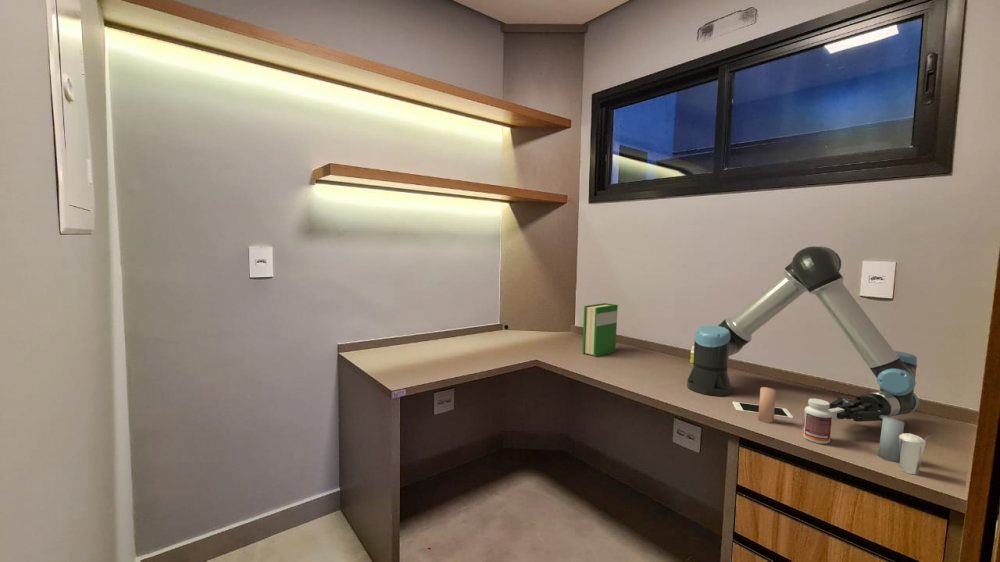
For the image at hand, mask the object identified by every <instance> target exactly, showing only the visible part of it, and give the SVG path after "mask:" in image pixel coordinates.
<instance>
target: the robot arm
mask: <svg viewBox="0 0 1000 562" xmlns="http://www.w3.org/2000/svg"><path fill="white" fill-rule="evenodd" d="M841 268H842V259H841V257H840V255H839V254H838V253H837V252H836V251H835V250H833V249H832V248H830V247H827V246H813V245H812V246H808V247H805V248H802V249H800V250H799V251H797V252H796V253H795V255H794V256H793V258H792V260H791V262H790V263H789V264H788V265H787V266H786V267H785V268H783V269H784V270H783V271H784V273H783V275H782V276H781V277H780V278H778V279H777V280H776V281H775V282H774V283H773V284H771V285H770V286H769V287H768V288H767V289H765V290H764V291H763V292H762V293H761V294H759V295H758V296H757V297H756V298H755V299H753V300H752V301H751V302H750V303H749V304H748V305H747V306H746V307H744V308H743V309H742V310H741V311H740V312H738V313H737V314H736V315H735V316H733V317H726V318H725V319H724V320H722V322H720V323H719V324H718V325H702V326H699V327H697V329H695V332H694V333H695V334H694V336H693V337H694V343H693V344H694V345H693V346H694V359H693V366H692V368H691V370H690V372H689V375H688V376H687V380H686V388H688V389H689V390H691V391H693V392H696V393H699V394H703V395H707V396H715V397H724V396H730V395H731V394H732V392H733V391H732V388H733V386H732V383H731V379H730V376H729V372H728V367H729V357H730V356H733V355H735V354H737V353H739V352H740V351H741V350H742V348H743V347H745V345H747V344H749V343H750V342H751V341H752V339H753V337H752V335H753V334H754V333H755V332H756V331H757V330H759V329H760V328H761V327H762V326H765V324H767V323H768V322H769V321H770V320H772V319H773V318H774V317H775V316H776V315H778V314H779V313H780V312H782V311H783V310H784V309H785V308H786V307H787V308H788V306H789V305H791V304H792V303H793V302H794V301H796V299H798V298H799V297H801V296H802V295H803V294H804V293H807V292H809V294H812V295H815V296H816V297H817V299H818V300H819V301H820V302H821V304H822V306H823V307H824V308H825V310H826V311H827V312H828V313H829V315H830V317H831V318H832V319H833V320H834V321H835V323H836V324H837V326H838V327H839V328H840V330H841V331H842V332H843V334H844V335H845V336H846V338H847V339H848V341H849V342H850V343H851V345H852V346H853V347H854V348H855V350H856V351H857V353H858V354H859V356H860V357H861V358H862V360H863V361H864V362H865V363H866V365H867V366H868V368H869V369H870V370H871V372H872V374H873V375H874V376H875V378H876V381H877V384H878V386H879V391H873V392H869V393H864V394H863V393H862V394H860V395H858V396H857V397H856V398H855V399H849V400H846V399H844V398H843V397H842V396H841V397H840V396H839V397H838V396H837V399H835V400H834V401H832V402H829V404H830V408H829V409H828V410H829V411H830V412H831V413H832V422H833V421H837V420H845V419H846V420H853V422H856V423H857V422H858V423H860V422H861V423H862V422H877V421H878V422H883V418H884V417H888V418H892V417H896V416H901V415H907V414H910V413H912V412H914V411H916V410H917V409H918V408H919V406H920V400H919V398H918V396H917V394H915V393H914V392H915V387H916V384H917V383H916V374H917V368H918V357H917V356H916V355H915V354H912V353H909V352H904V351H903V352H902V351H897V350H896V351H895V350H894V348H892V346H891V345H890V344H889V342H888V340H887V339H886V338H885V337H884V335H883V334H882V333H881V332H880V330H879V329H878V327H877V326H876V325H875V323H874V322H873V321H872V319H870V317H869V316H868V315H867V312H865V310H864V309H863V308H862V307H861V305H860V304H859V303H858V301H856V299H855V297H853V295H852V294H851V293H850V291H849V290H848V289H847V286H845V285H844V283H843V282H844V279H845V278H844V277H843V275H842V274H841V273H840V270H841Z"/></svg>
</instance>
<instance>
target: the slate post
mask: <svg viewBox="0 0 1000 562" xmlns="http://www.w3.org/2000/svg"><path fill="white" fill-rule="evenodd" d="M881 422H882V424H881V432H880V439H879V446H878V457H879V458H881V459H883V460H886V461H888V462H893V463H900V446H899V436H900V435H901V434H903V433H904V431H905V430H904V429H905V428H904V427H905V422H904V421H902V420H900V419H897V418H894V417H884V418H883V421H881Z"/></svg>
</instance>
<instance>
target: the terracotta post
mask: <svg viewBox="0 0 1000 562" xmlns="http://www.w3.org/2000/svg"><path fill="white" fill-rule="evenodd" d="M759 391H760V392H759V400H758V401H759V403H758V405H759V413H757V414H758V415H757V420H758V421H759V422H762V423H766V424H773V423H774V419H775V418H774V407H776V394H777V392H776V391H777V389H774V388H771V387H766V386H763V387H760V390H759Z"/></svg>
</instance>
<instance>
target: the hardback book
mask: <svg viewBox="0 0 1000 562" xmlns="http://www.w3.org/2000/svg"><path fill="white" fill-rule="evenodd" d="M618 305H619V304H615V303H614V304H613V303H606V302H604V303H594V304H589V305H588V304H587V305H584V306H583V324H582V325H583V326H582V327H583V329H582V350H581V351H582V355H587V354H588V355H591V356H592V357H593V358H598V357H600V356H604V355H607V354H612V353H615V352H616V350H617V349H616V347H617V345H616V344H617V328H618V327H617V325H618V324H617V323H618V309H619V308H618Z"/></svg>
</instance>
